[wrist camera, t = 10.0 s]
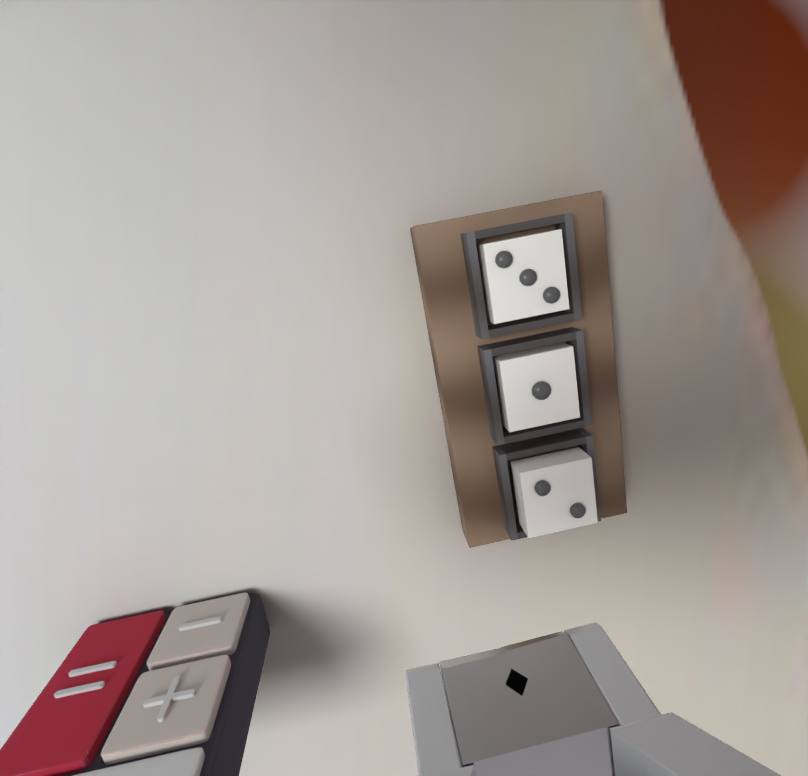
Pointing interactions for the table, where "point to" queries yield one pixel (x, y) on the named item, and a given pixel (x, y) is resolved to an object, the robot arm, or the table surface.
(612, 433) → the key panel
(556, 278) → the key three
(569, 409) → the key one
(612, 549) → the table surface
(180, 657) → the calculator
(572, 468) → the key two
